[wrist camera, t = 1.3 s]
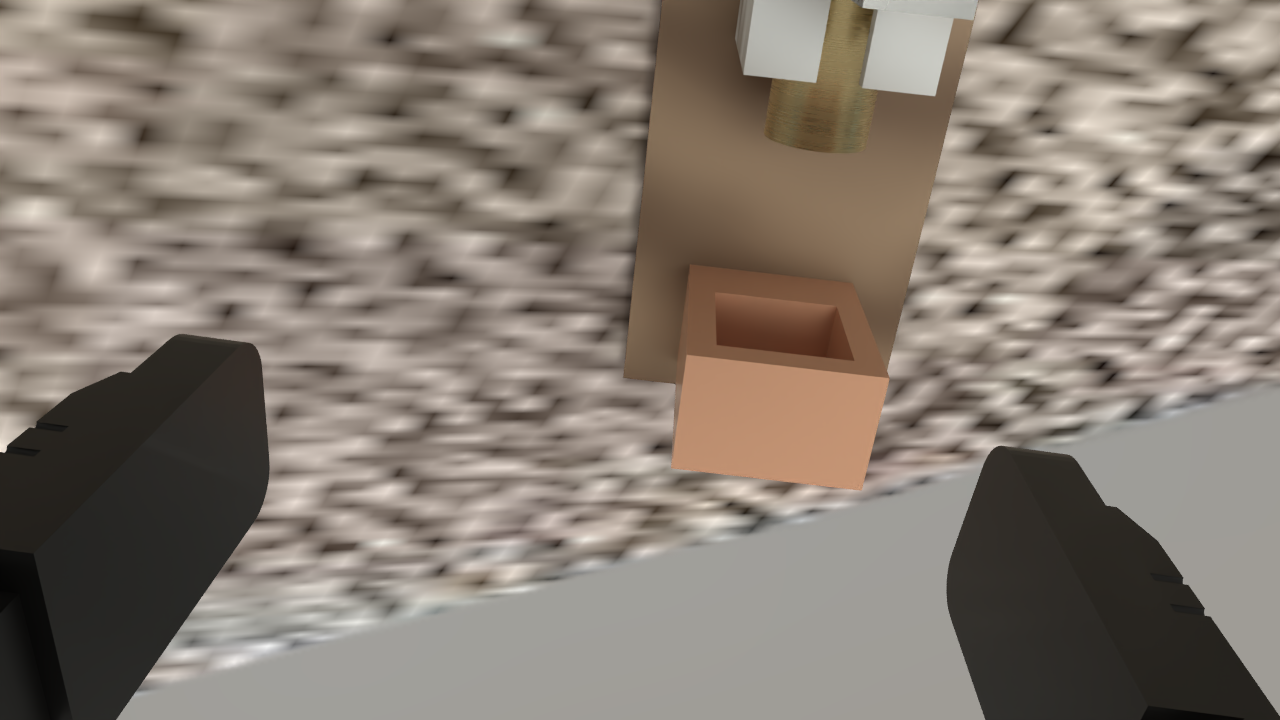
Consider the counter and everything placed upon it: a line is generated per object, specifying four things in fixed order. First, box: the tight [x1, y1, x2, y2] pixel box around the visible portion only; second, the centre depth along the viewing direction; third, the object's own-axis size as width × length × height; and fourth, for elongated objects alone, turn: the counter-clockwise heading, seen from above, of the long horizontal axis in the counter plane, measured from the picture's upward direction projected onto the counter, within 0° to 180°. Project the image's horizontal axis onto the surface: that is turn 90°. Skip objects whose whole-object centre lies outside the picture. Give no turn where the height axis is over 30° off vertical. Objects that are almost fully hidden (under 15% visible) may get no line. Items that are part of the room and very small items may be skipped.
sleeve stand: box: [623, 0, 979, 384], centre depth 28 cm, size 25×10×8 cm, turn 174°
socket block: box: [671, 264, 890, 490], centre depth 31 cm, size 4×6×8 cm, turn 84°
